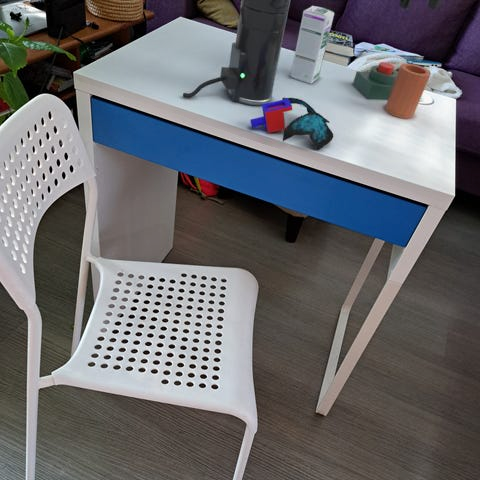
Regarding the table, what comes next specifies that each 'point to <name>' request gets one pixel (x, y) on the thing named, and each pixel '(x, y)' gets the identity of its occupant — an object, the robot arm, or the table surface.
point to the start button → (385, 68)
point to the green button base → (374, 83)
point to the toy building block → (273, 115)
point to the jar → (407, 90)
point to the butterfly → (309, 126)
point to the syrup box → (311, 43)
